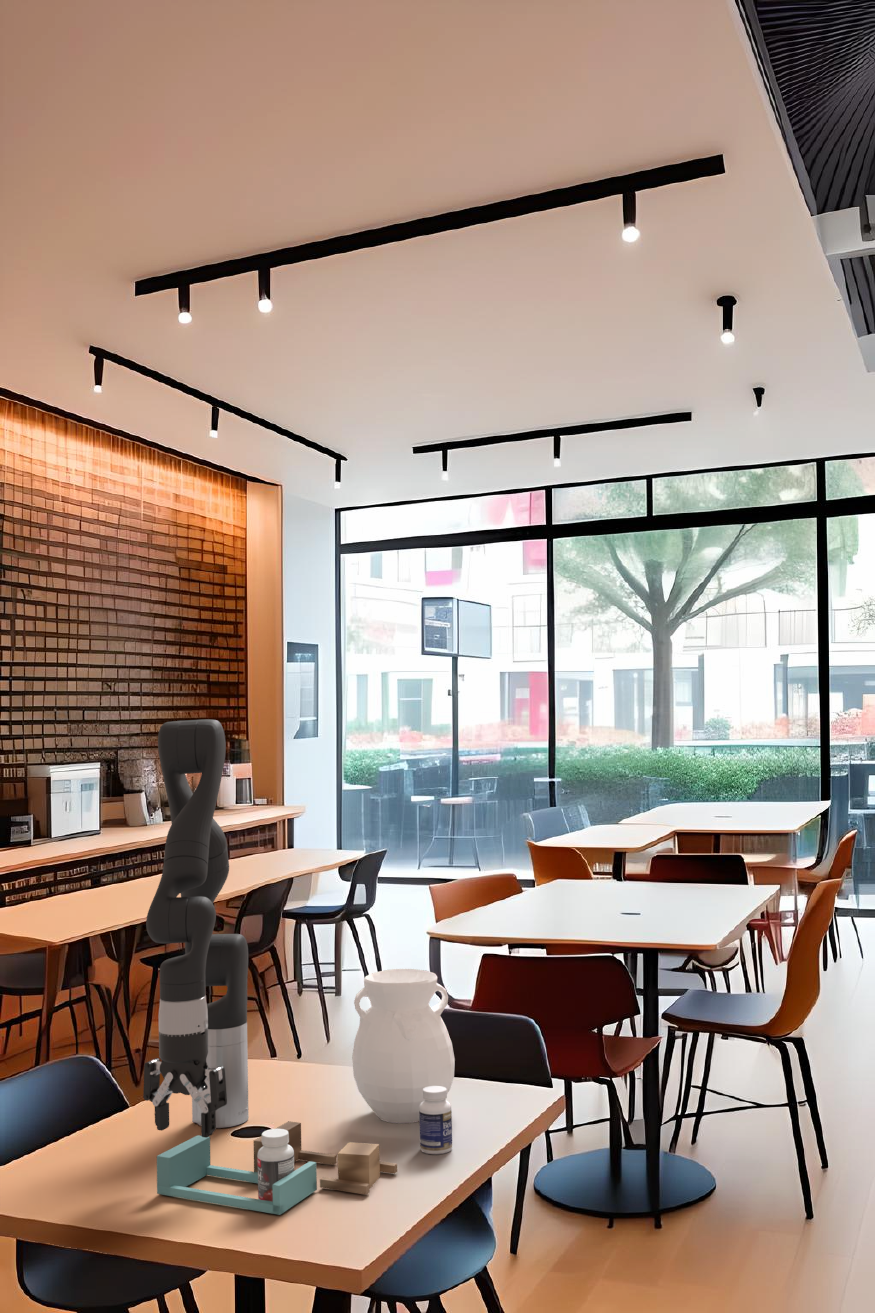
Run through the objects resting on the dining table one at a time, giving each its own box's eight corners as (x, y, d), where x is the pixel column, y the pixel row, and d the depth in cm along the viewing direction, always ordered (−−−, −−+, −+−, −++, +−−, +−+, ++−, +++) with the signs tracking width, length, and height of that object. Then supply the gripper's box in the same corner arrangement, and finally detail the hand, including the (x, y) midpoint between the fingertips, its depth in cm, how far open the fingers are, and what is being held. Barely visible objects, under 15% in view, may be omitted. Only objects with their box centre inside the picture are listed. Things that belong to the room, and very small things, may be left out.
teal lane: (157, 1193, 171) (156, 1156, 172) (198, 1171, 180) (197, 1135, 181) (279, 1215, 162) (279, 1175, 163) (316, 1190, 171) (316, 1152, 172)
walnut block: (338, 1187, 173) (337, 1153, 173) (349, 1175, 178) (348, 1142, 178) (369, 1189, 172) (368, 1155, 172) (380, 1177, 176) (379, 1144, 177)
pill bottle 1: (250, 1202, 168) (249, 1134, 169) (277, 1191, 172) (276, 1124, 173) (275, 1211, 164) (274, 1141, 165) (302, 1199, 169) (301, 1131, 169)
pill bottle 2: (449, 1156, 185) (447, 1094, 186) (417, 1154, 186) (415, 1093, 187) (455, 1144, 190) (453, 1084, 191) (424, 1143, 191) (422, 1083, 192)
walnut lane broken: (254, 1177, 177) (253, 1140, 178) (289, 1156, 186) (288, 1121, 187) (366, 1194, 169) (365, 1156, 169) (397, 1171, 178) (396, 1135, 178)
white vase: (358, 1136, 196) (354, 988, 198) (349, 1104, 214) (346, 969, 216) (464, 1127, 198) (460, 981, 201) (447, 1097, 217) (443, 963, 219)
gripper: (131, 1028, 177) (132, 1135, 176) (206, 1036, 171) (208, 1147, 170) (162, 1016, 184) (164, 1119, 183) (235, 1024, 178) (237, 1130, 177)
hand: (185, 1132), depth 177 cm, fingers open, 8 cm apart
